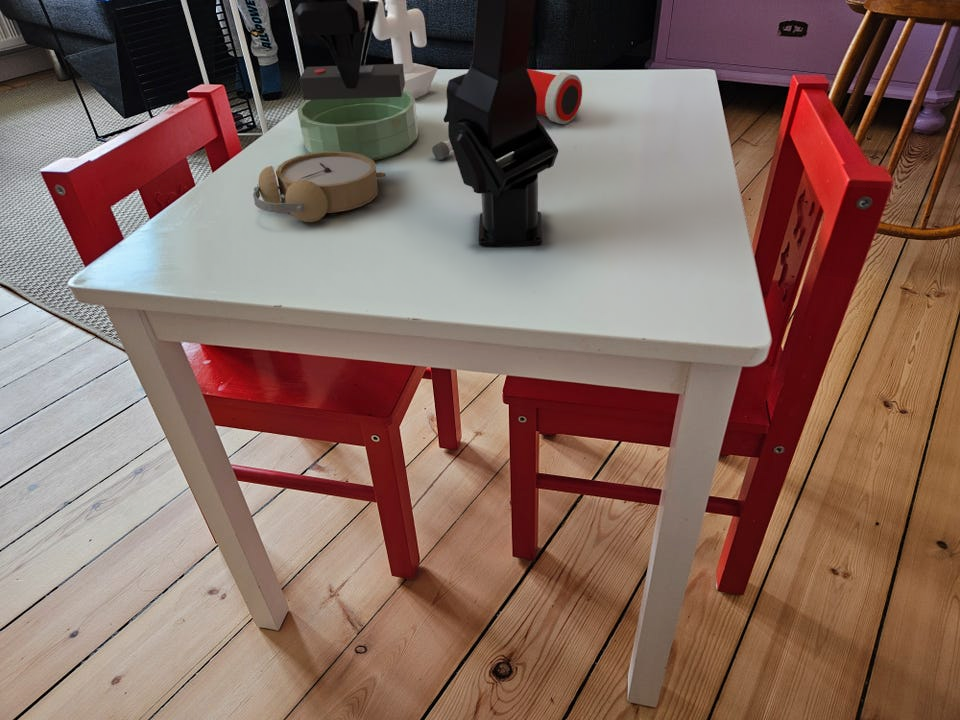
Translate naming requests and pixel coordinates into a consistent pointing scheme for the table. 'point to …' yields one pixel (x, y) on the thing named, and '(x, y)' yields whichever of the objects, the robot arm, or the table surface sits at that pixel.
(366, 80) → the remote
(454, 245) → the table surface
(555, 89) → the toy hammer
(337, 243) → the table surface
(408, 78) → the figurine
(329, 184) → the alarm clock
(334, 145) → the bowl
